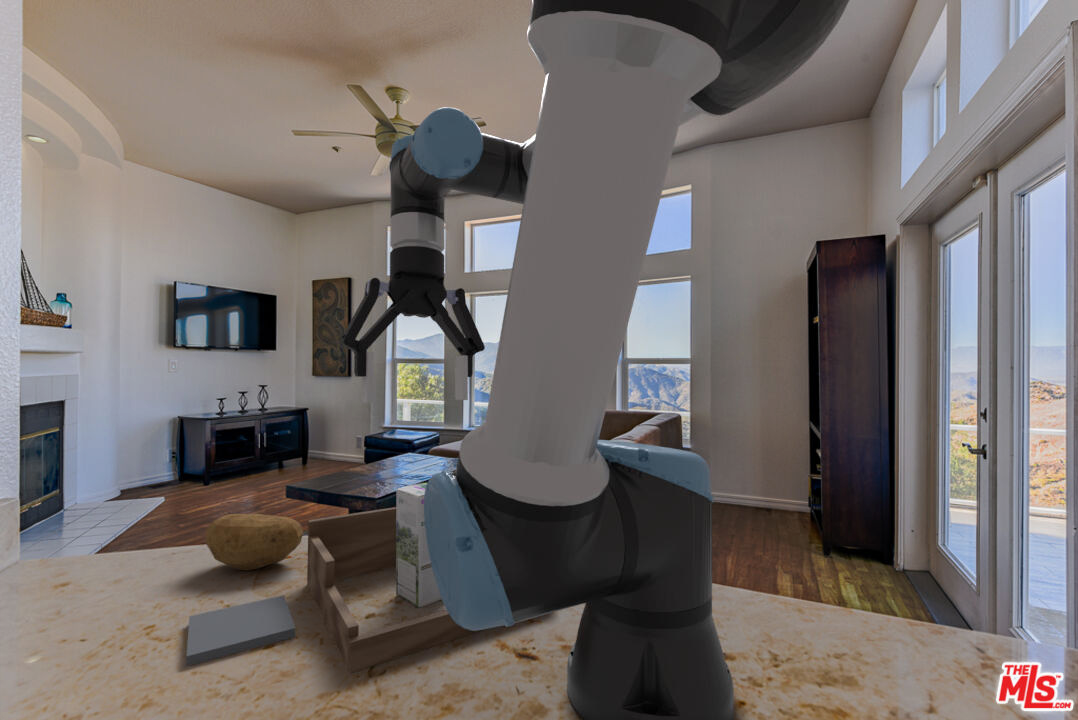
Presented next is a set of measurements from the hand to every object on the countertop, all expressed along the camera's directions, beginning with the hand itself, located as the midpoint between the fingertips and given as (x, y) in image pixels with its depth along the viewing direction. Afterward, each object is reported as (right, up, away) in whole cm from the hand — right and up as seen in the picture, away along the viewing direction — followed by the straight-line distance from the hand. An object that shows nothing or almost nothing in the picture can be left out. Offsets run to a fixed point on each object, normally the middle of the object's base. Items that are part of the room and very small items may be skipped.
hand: (416, 401), depth 68 cm
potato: (-27, -26, +7) cm, 38 cm away
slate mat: (-18, -26, -12) cm, 33 cm away
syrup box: (+2, -26, -2) cm, 26 cm away
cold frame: (+2, -26, -2) cm, 26 cm away
